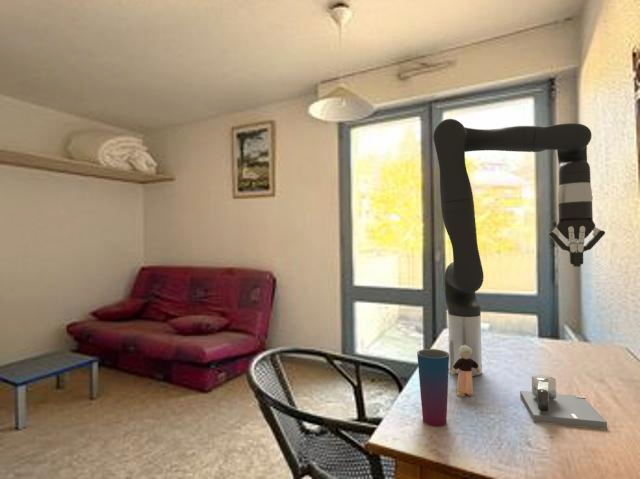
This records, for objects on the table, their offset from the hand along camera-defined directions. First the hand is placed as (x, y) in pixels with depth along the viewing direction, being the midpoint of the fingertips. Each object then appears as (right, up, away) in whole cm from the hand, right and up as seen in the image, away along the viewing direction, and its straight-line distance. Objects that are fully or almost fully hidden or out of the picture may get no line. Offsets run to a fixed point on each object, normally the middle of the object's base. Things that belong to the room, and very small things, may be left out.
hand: (576, 266), depth 102 cm
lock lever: (-17, -30, -14) cm, 37 cm away
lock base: (-13, -32, -14) cm, 38 cm away
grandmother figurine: (-30, -33, -3) cm, 45 cm away
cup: (-43, -33, -17) cm, 57 cm away
